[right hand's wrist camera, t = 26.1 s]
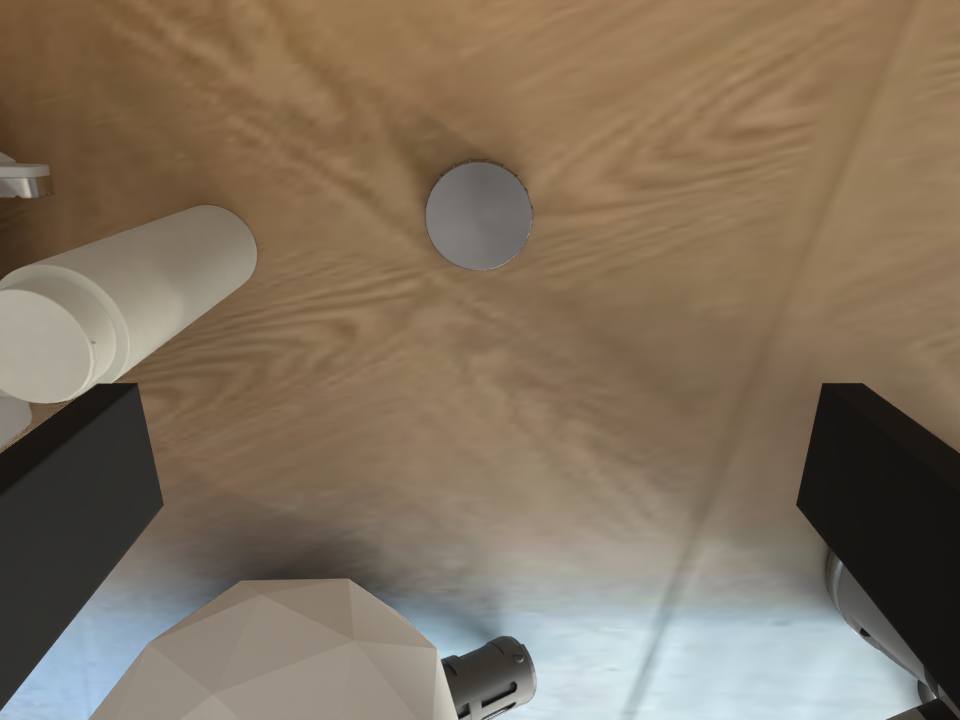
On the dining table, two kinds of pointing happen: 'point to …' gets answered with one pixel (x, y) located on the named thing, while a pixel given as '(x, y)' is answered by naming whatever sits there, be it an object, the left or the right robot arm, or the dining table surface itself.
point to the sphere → (313, 663)
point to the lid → (478, 215)
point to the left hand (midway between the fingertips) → (64, 275)
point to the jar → (116, 301)
